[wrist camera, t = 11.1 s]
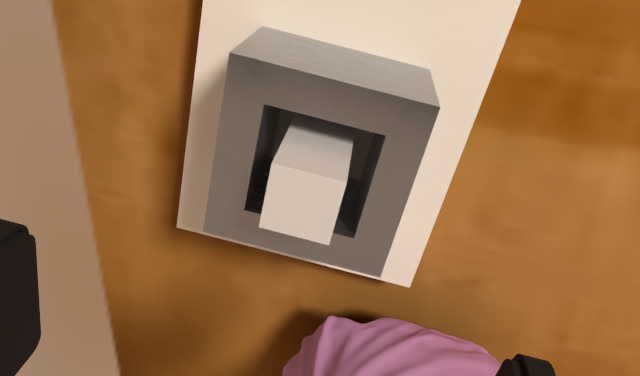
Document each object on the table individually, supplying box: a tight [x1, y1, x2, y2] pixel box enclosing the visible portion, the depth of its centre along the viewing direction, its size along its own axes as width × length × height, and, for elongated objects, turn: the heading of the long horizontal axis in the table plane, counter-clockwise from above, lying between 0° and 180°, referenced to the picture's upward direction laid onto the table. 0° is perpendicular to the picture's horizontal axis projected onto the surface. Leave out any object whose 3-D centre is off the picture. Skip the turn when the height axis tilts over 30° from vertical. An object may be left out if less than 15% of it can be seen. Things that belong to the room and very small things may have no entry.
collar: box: [203, 26, 440, 277], centre depth 21 cm, size 7×7×5 cm
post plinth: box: [177, 0, 521, 288], centre depth 21 cm, size 14×12×9 cm
